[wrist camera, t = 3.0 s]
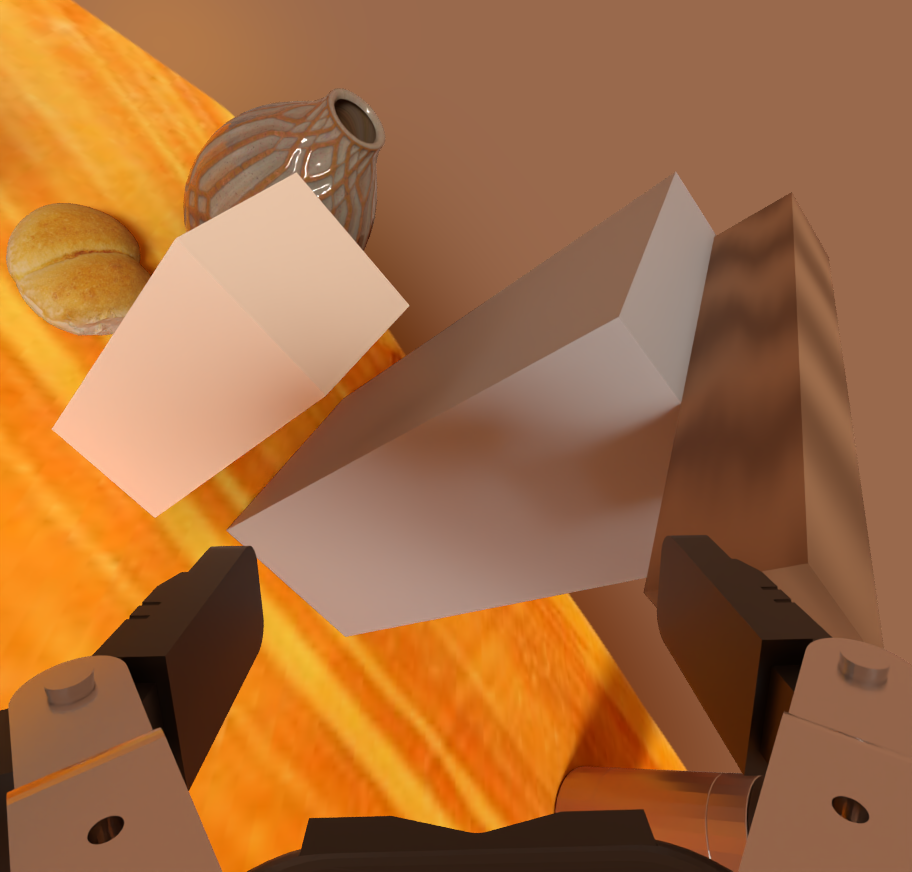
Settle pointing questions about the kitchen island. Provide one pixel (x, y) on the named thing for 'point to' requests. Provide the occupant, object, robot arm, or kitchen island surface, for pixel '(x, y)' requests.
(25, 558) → the kitchen island surface
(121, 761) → the robot arm
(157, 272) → the post
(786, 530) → the walnut bar
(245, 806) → the kitchen island surface
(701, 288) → the tall white pillar
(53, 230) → the bread roll
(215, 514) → the kitchen island surface
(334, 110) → the vase
